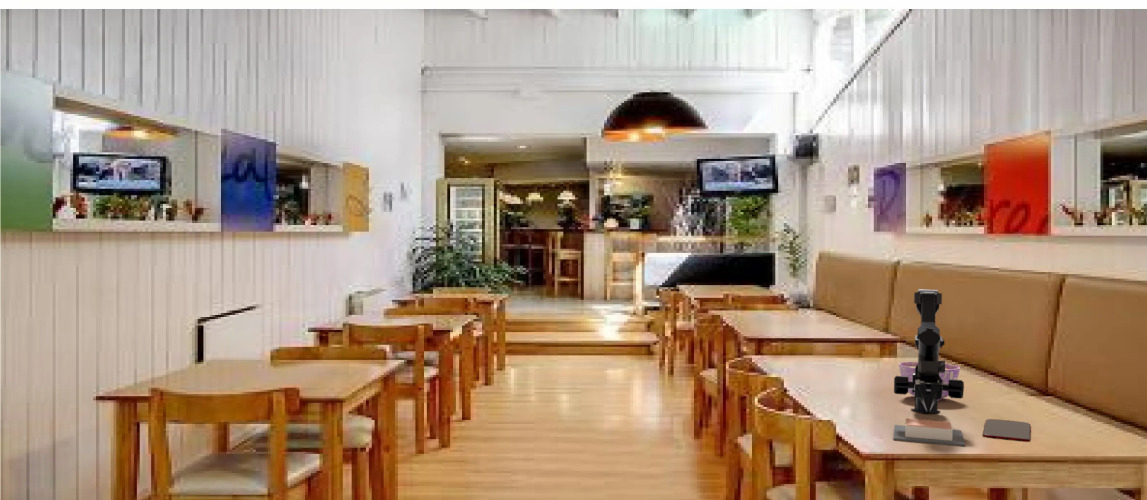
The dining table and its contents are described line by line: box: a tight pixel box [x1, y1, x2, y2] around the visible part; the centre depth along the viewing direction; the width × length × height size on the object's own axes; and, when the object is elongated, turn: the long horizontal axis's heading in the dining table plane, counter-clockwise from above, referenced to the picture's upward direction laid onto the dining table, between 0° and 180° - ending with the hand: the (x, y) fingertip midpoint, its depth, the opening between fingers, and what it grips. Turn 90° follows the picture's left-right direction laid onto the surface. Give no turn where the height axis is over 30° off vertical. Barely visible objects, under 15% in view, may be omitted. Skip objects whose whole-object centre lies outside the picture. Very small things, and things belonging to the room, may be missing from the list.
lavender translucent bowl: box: [898, 361, 961, 401], centre depth 315 cm, size 20×20×12 cm
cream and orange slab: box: [904, 418, 954, 441], centre depth 252 cm, size 3×12×10 cm
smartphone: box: [982, 418, 1032, 443], centre depth 262 cm, size 12×2×25 cm
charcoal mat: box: [892, 424, 966, 447], centre depth 253 cm, size 19×18×1 cm
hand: (928, 411), depth 256 cm, fingers closed
